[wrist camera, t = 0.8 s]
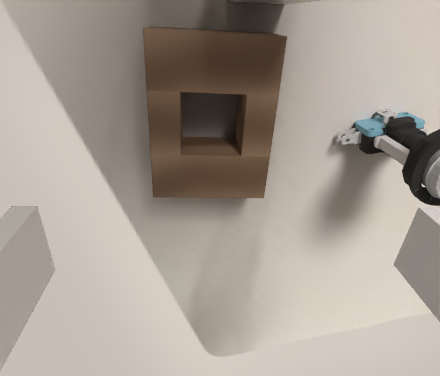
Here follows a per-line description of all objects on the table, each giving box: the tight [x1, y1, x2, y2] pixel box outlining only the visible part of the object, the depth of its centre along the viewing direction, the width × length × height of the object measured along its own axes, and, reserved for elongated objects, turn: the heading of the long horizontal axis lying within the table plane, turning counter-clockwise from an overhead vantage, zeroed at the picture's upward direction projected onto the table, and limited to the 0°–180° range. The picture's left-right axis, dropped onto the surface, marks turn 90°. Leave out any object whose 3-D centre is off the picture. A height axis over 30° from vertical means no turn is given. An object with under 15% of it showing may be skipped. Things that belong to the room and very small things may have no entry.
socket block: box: [143, 26, 287, 198], centre depth 24 cm, size 12×9×4 cm
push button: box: [337, 110, 440, 206], centre depth 23 cm, size 7×5×10 cm
